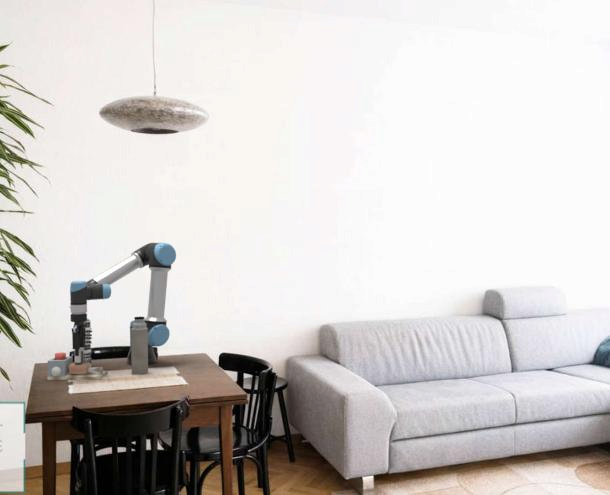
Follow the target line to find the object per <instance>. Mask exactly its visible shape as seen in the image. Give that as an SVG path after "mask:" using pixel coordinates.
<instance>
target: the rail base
mask: <svg viewBox="0 0 610 495" xmlns="http://www.w3.org/2000/svg"><path fill="white" fill-rule="evenodd" d="M107 374H108V375H109V371H107V370H105V371H104V367H102V366H101V367H100V366H98V367H97V366H95V367H94V366H93V367H92V366H90V367H87V373H86V374H68V375H67V376H65V377H48V376H46V377H47V378H46V379H47V381H87V380H88V381H100V380H102V379H104V378H105V377H107V376H108V375H107ZM103 377H104V378H103Z"/></svg>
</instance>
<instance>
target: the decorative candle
mask: <svg viewBox="0 0 610 495" xmlns="http://www.w3.org/2000/svg"><path fill="white" fill-rule="evenodd" d="M91 321H92V320H90V319H89V318H88V317H87V321H85V322H83V323H84V325H86V329H85V345H86V346H85V347H84V363H90V366H89V367H92V364H93V362H92V361H93V359H92V353H93V352H92V348H91V345H92V340H91V339H93V337H92V335H93V334H91V333H92V332H93V330H92V326H91ZM73 360H74V362H75V359H73Z"/></svg>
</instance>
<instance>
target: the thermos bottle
mask: <svg viewBox="0 0 610 495" xmlns="http://www.w3.org/2000/svg"><path fill="white" fill-rule="evenodd" d="M145 318H146V317H145V316H134V318H133V319H134V320H133V321H134V323H133V328H131V364H130V365H131V374H132V375H134V374H142V375H147V374H148V373H149V364H148V328H147V327H146V323H145V320H144V319H145ZM146 373H147V374H146Z"/></svg>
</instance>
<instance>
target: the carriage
mask: <svg viewBox="0 0 610 495" xmlns="http://www.w3.org/2000/svg"><path fill="white" fill-rule="evenodd" d="M89 366H90V363H84V356H83V351H81V362H80V363H75V362H73V363H72V364H70V365H69V366H68V369H69V374H86V373H87V367H89ZM90 367H91V366H90Z"/></svg>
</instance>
